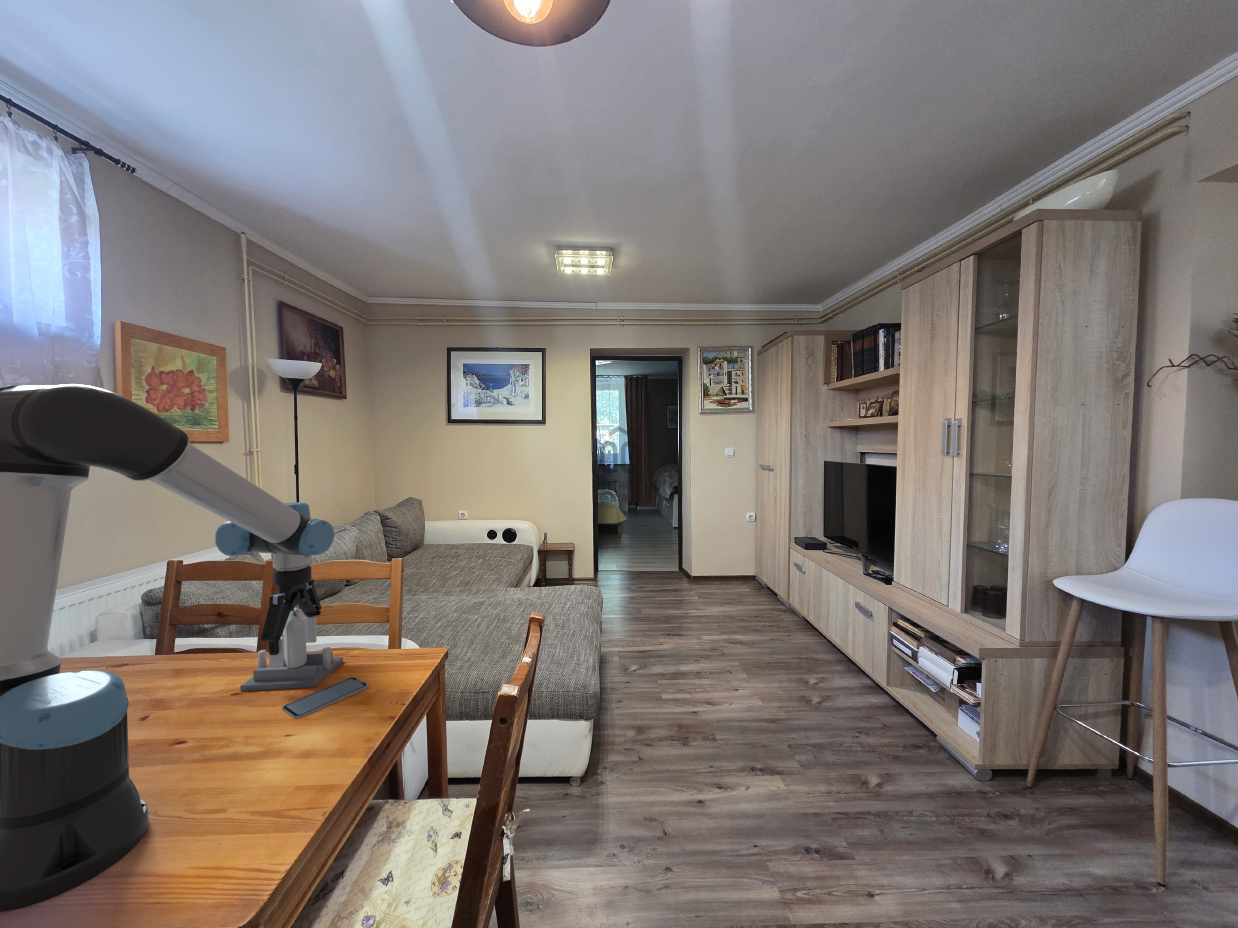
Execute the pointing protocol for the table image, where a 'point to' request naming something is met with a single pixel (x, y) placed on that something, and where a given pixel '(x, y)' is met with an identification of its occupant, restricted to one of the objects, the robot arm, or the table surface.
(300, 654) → the photo printer
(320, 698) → the smartphone
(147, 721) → the table surface
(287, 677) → the cradle
